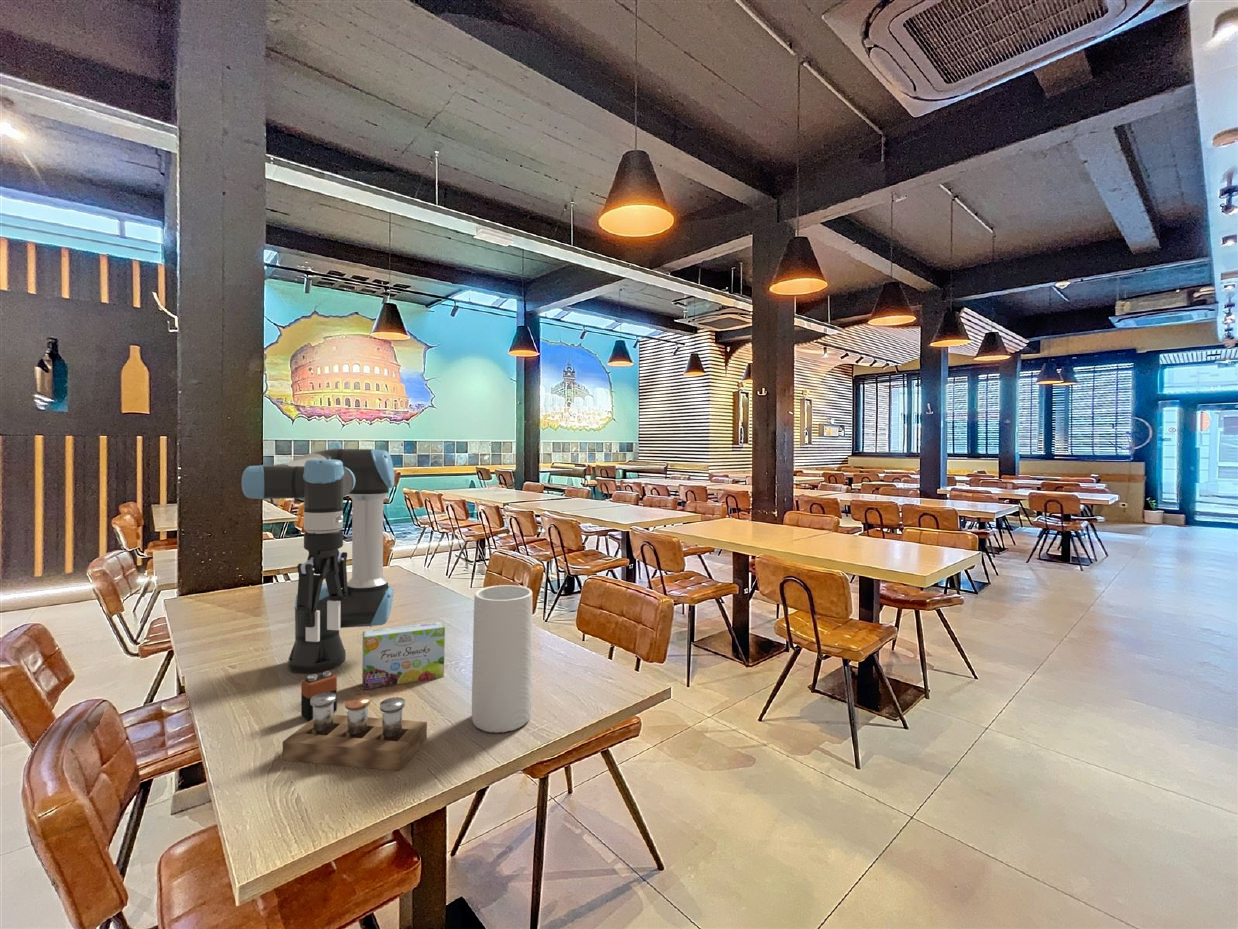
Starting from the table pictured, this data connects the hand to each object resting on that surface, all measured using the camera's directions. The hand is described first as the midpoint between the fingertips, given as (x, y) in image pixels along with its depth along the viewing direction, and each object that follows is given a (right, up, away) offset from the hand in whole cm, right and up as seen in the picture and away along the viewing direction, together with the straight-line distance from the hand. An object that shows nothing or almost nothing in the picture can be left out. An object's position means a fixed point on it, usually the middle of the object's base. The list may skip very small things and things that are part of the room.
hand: (323, 634), depth 119 cm
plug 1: (0, -20, +1) cm, 20 cm away
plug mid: (+7, -21, 0) cm, 22 cm away
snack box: (+4, -24, +35) cm, 42 cm away
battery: (-9, -24, +15) cm, 30 cm away
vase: (+36, -25, +14) cm, 46 cm away
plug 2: (+15, -21, -1) cm, 26 cm away
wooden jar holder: (+7, -25, 0) cm, 26 cm away
